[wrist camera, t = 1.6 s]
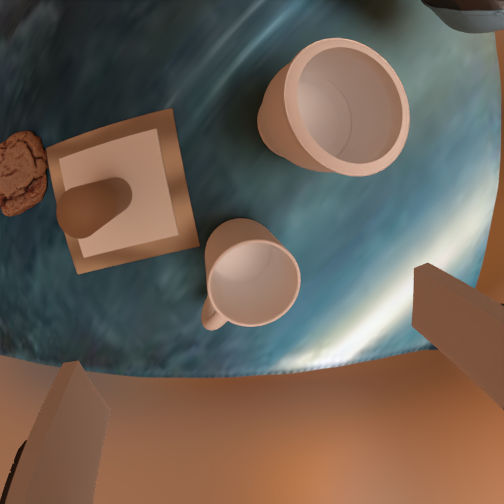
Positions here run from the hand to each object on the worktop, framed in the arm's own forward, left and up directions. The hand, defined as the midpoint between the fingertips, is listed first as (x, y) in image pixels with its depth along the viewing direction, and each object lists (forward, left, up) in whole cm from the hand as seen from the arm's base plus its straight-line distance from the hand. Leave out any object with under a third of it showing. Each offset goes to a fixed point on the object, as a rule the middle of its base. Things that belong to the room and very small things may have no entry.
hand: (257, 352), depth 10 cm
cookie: (-11, -23, -26) cm, 37 cm away
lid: (-5, -10, -25) cm, 28 cm away
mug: (+6, +1, -26) cm, 26 cm away
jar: (-9, +11, -26) cm, 29 cm away
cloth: (-5, -10, -25) cm, 28 cm away
